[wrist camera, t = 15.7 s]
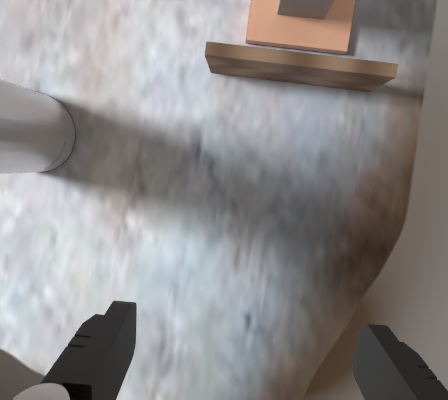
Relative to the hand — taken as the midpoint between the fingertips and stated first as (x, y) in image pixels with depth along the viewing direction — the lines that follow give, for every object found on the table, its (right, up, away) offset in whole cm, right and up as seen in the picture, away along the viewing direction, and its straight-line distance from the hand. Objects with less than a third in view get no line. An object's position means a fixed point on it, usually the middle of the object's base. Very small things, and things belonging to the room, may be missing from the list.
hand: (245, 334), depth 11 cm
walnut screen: (+7, +19, +24) cm, 32 cm away
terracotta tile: (+8, +27, +23) cm, 37 cm away
